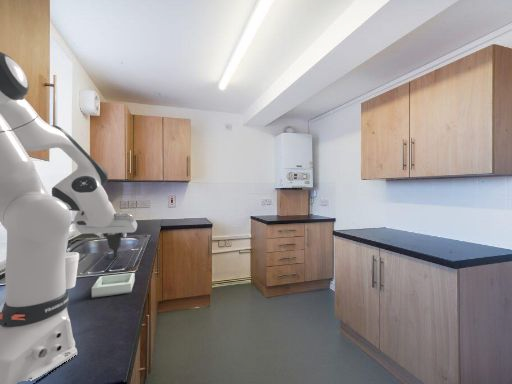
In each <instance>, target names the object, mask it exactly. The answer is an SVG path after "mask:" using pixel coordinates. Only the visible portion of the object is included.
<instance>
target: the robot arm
mask: <svg viewBox="0 0 512 384" xmlns="http://www.w3.org/2000/svg"><path fill="white" fill-rule="evenodd" d="M27 79H28V78H27V76H26V74H25V72H24V70H23V69H22V67H21V66H20V65H19V64H18V63H17V62H16V61H15V60H14V59H13V58H12V57H11V56H9V55H8V54H6V53H3V52H1V51H0V224H1V225H2V227H3V228H4V229H5V230H6V256H5V268H4V274H5V275H4V278H5V279H4V280H5V281H4V282H5V300H6V301H5V303H3V307H2V310H1V311H0V384H17V383H18V382H21V381H28V380H30V381H32V380H34V379H36V378H38V377H40V376H42V375H43V374H45V373H47V372H48V371H50V370H52V369H53V368H55V367H57V366H59V365H61V364H62V363H64V362H66V361H67V362H69V361H70V360H72V359H73V358H75V357H76V356H77V355H78V349H77V347H76V340H75V338H74V336H73V329H72V324H71V320H70V316H69V312H68V307H69V301H70V300H69V299H70V296H69V292H68V289H67V290H66V276H65V258H66V253H67V250H68V245H69V236H70V235H69V234H70V227H71V225H72V222H73V224H74V225H75V228H76V230H77V232H79V233H80V234H83V235H86V234H94V235H95V236H97V237H99V238H100V239H105V238H106V237H105V236H103V235H105V234H106V233H122V234H121V239H123V238H127V237H128V236H127V235H128V234H127V233H135V232H136V231H137V228H138V223H137V221H136V219H135V217H134V216H133V215H131V214H130V213H117V212H116V210H115V208H114V206H113V204H112V202H111V201H110V200H109V195H108V194H107V192H106V190H105V189H104V186H106V185H107V184H108V176H109V175H108V172H107V171H106V170H105V168H104V167H103V166H102V165H100V164H99V163H98V162H97V161H96V160H94V158H93V157H91V155H90V154H89V153H88V152H87V151H85V150H84V148H83V147H82V146H81V145H80V144H79V143H78V142H77V140H75V139H74V138H73V137H72V136H71V135H70V134H69V133H68V132H67V131H66V130H64V129H63V128H62V127H60V126H58V125H54V124H53V125H51V124H49V123H47V122H46V121H45V120H43V118H42V117H40V115H39V114H38V113H37V111H36V110H35V109H34V108H33V106H32V105H31V103H29V101H27V100H26V99H25V96H26V95H27V94H28V93H29V92H28V91H29V88H30V86H29V82H28V80H27ZM56 148H58V149H60V150H61V151H63V152H64V153H65V154H66V155H67V156H68V157H69V158H70V160H72V161H73V162H74V163H75V164H77V168H76V169H75V170H74V171H73V172H71V173H70V174H68V175H67V176H66V177H64V178H63V179H61V180H60V181H59V182H58V183H56V184H55V185H54V186H53V187H51V195H50V194H49V192H48V191H47V189H46V187H45V186H44V183H43V181H42V180H41V177H40V175H39V173H38V170H37V169H36V167H35V164H34V161H33V160H32V158H31V157H30V155H29V154H28V152H40V151H45V150H50V149H56ZM72 211H74V212H76V214H75V215H74V216H75V217H74V218H73V221H72V214H71V212H72ZM75 355H76V356H75ZM74 356H75V357H74ZM72 357H73V358H72ZM71 358H72V359H71ZM69 359H70V360H69ZM68 360H69V361H68ZM67 362H66V363H67ZM30 378H32V379H30Z"/></svg>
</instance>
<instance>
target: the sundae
mask: <svg viewBox="0 0 512 384" xmlns="http://www.w3.org/2000/svg"><path fill="white" fill-rule="evenodd" d="M121 234H122V233H105V235H103V236H105V238H106V242H107V245H108V247H109V249H110V250H112V251H113V257H111V258H109V261H117V260H122V259H123V258H124V256H123V255H119V252H118V250H119V248H120V247H121V246H122V237H121Z"/></svg>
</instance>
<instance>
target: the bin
mask: <svg viewBox="0 0 512 384" xmlns="http://www.w3.org/2000/svg"><path fill="white" fill-rule="evenodd" d="M135 276H136V274H135V272H131V273H128V272H127V273H122V274H121V273H120V274H112V275H111V274H110V275H102V276H99V277H98V279H96V282H95V283H94V284H93V286H92V287H91V298H92V299H93V298H99V297H101V298H102V297H106V296H115V295H123V294H131V293H132V290H133V287H134V284H135V282H136V278H135Z"/></svg>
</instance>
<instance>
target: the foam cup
mask: <svg viewBox="0 0 512 384" xmlns="http://www.w3.org/2000/svg"><path fill="white" fill-rule="evenodd" d="M79 261H80V253H79V252H76V251H75V252H74V251H72V252H71V251H70V252H66V258H65V276H66V290H67V291H68V290H71V289H73V288H75V286H76V282H77V276H78V275H77V274H78V269H79V267H78V265H79Z"/></svg>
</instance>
